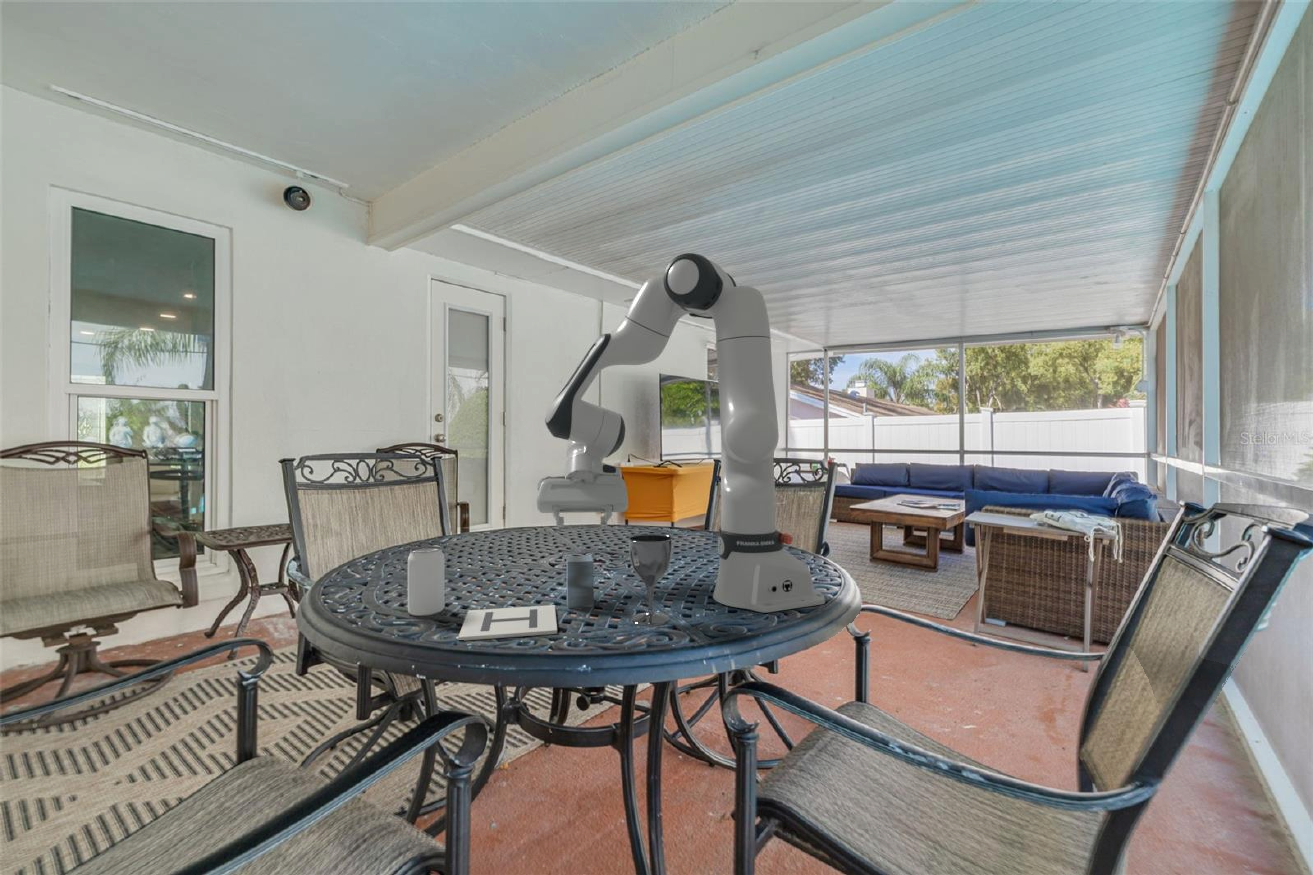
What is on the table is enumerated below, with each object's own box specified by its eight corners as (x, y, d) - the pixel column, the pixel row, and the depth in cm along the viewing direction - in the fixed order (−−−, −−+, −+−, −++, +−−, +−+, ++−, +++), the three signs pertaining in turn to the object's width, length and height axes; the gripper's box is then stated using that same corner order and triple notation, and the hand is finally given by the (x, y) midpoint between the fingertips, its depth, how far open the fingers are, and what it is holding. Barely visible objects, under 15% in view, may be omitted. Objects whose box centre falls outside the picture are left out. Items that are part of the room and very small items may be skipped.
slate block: (591, 599, 115) (591, 555, 114) (593, 606, 110) (593, 561, 110) (566, 600, 114) (566, 556, 113) (567, 608, 109) (567, 562, 109)
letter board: (554, 608, 109) (554, 604, 109) (557, 633, 95) (557, 629, 95) (468, 613, 105) (468, 610, 105) (458, 640, 92) (458, 637, 92)
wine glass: (621, 623, 100) (621, 539, 100) (639, 610, 108) (639, 532, 107) (663, 629, 97) (663, 543, 97) (678, 615, 105) (678, 535, 104)
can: (431, 618, 103) (431, 553, 103) (400, 615, 104) (400, 551, 104) (451, 607, 109) (451, 546, 109) (421, 605, 110) (421, 544, 110)
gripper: (537, 468, 127) (531, 517, 118) (627, 467, 129) (628, 516, 119) (540, 485, 132) (534, 534, 122) (626, 485, 133) (628, 533, 124)
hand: (581, 525), depth 121 cm, fingers open, 8 cm apart
